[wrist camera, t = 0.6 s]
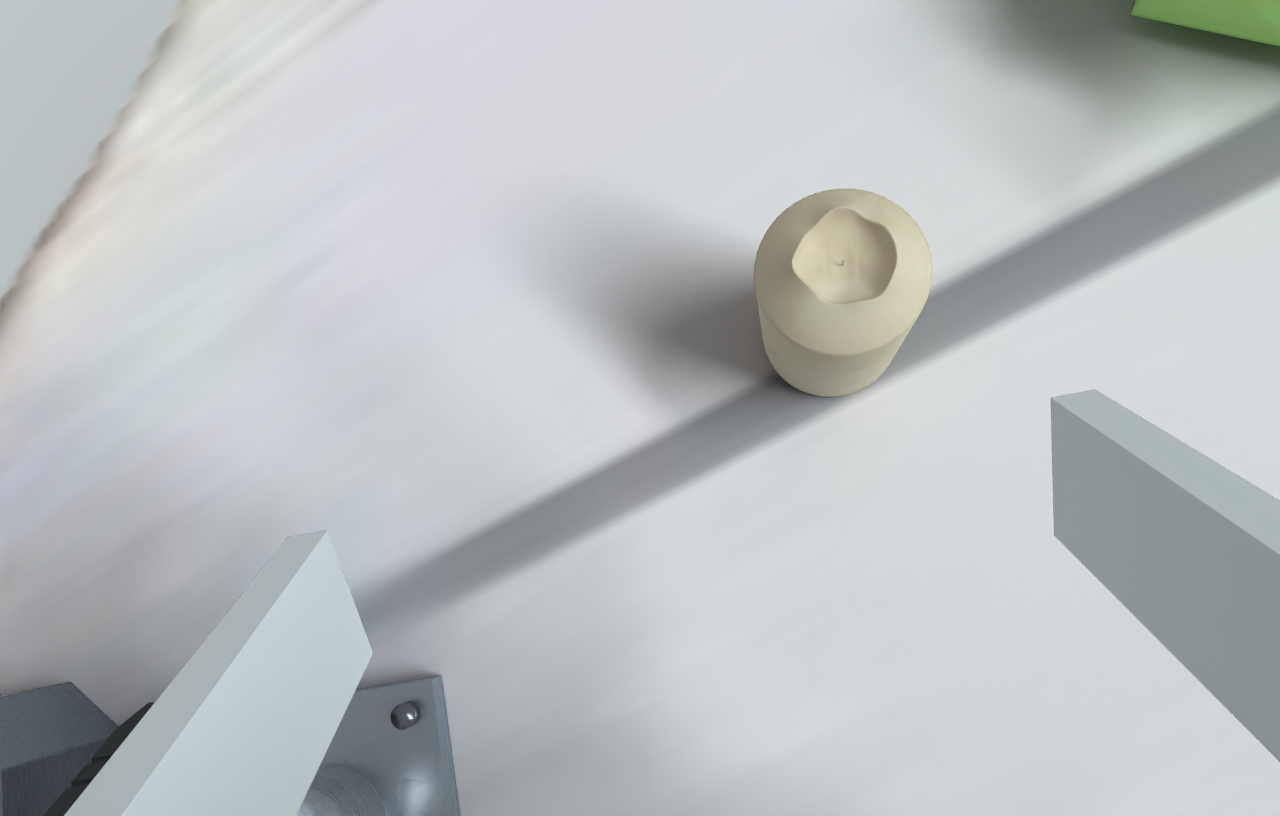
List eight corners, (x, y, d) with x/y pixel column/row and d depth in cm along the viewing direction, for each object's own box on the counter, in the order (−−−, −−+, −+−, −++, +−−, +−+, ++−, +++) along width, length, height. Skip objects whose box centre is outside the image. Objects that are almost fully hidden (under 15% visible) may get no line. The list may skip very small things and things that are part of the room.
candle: (764, 400, 34) (754, 350, 25) (760, 274, 35) (749, 176, 25) (900, 396, 33) (946, 341, 24) (893, 266, 34) (934, 161, 25)
